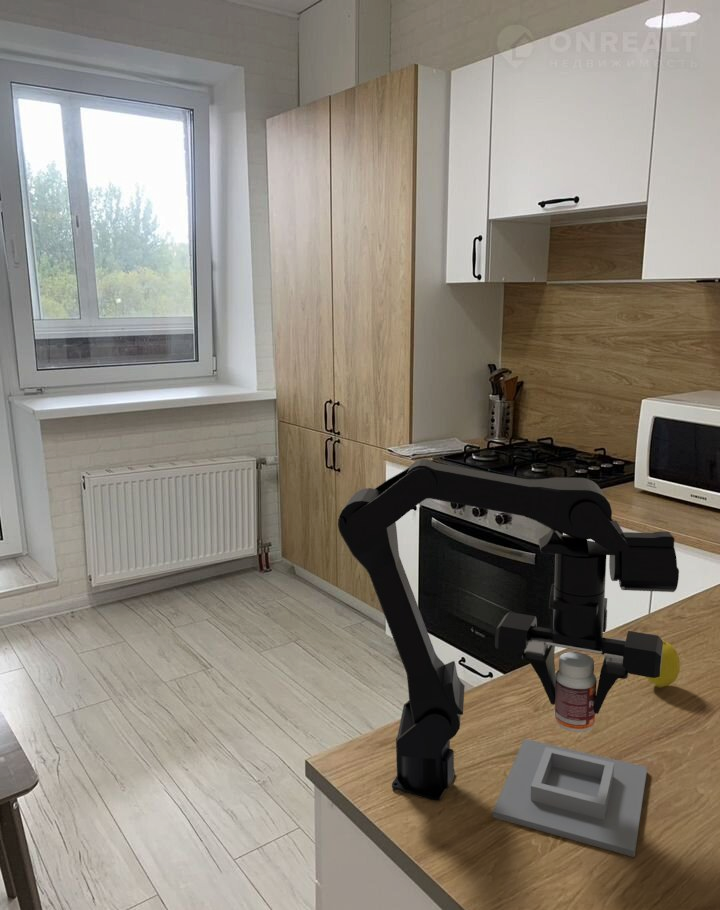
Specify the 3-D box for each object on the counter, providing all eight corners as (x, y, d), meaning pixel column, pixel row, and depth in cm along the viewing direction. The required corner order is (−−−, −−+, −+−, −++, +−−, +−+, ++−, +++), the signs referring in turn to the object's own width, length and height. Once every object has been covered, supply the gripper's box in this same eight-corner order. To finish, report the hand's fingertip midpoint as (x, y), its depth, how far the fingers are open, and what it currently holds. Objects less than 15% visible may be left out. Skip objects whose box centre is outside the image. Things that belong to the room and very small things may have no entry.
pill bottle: (597, 735, 86) (600, 670, 84) (555, 731, 86) (557, 667, 85) (592, 713, 90) (595, 651, 88) (553, 710, 91) (554, 648, 89)
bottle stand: (492, 817, 86) (492, 796, 86) (524, 743, 101) (524, 725, 100) (634, 857, 80) (635, 835, 79) (646, 772, 94) (647, 753, 93)
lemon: (681, 683, 115) (684, 637, 113) (674, 700, 110) (677, 651, 108) (644, 675, 118) (646, 629, 116) (637, 690, 113) (639, 643, 111)
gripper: (668, 574, 88) (661, 690, 91) (516, 555, 96) (514, 663, 99) (663, 609, 78) (655, 738, 81) (494, 585, 86) (493, 704, 89)
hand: (574, 707), depth 88 cm, fingers closed on pill bottle, 5 cm apart
